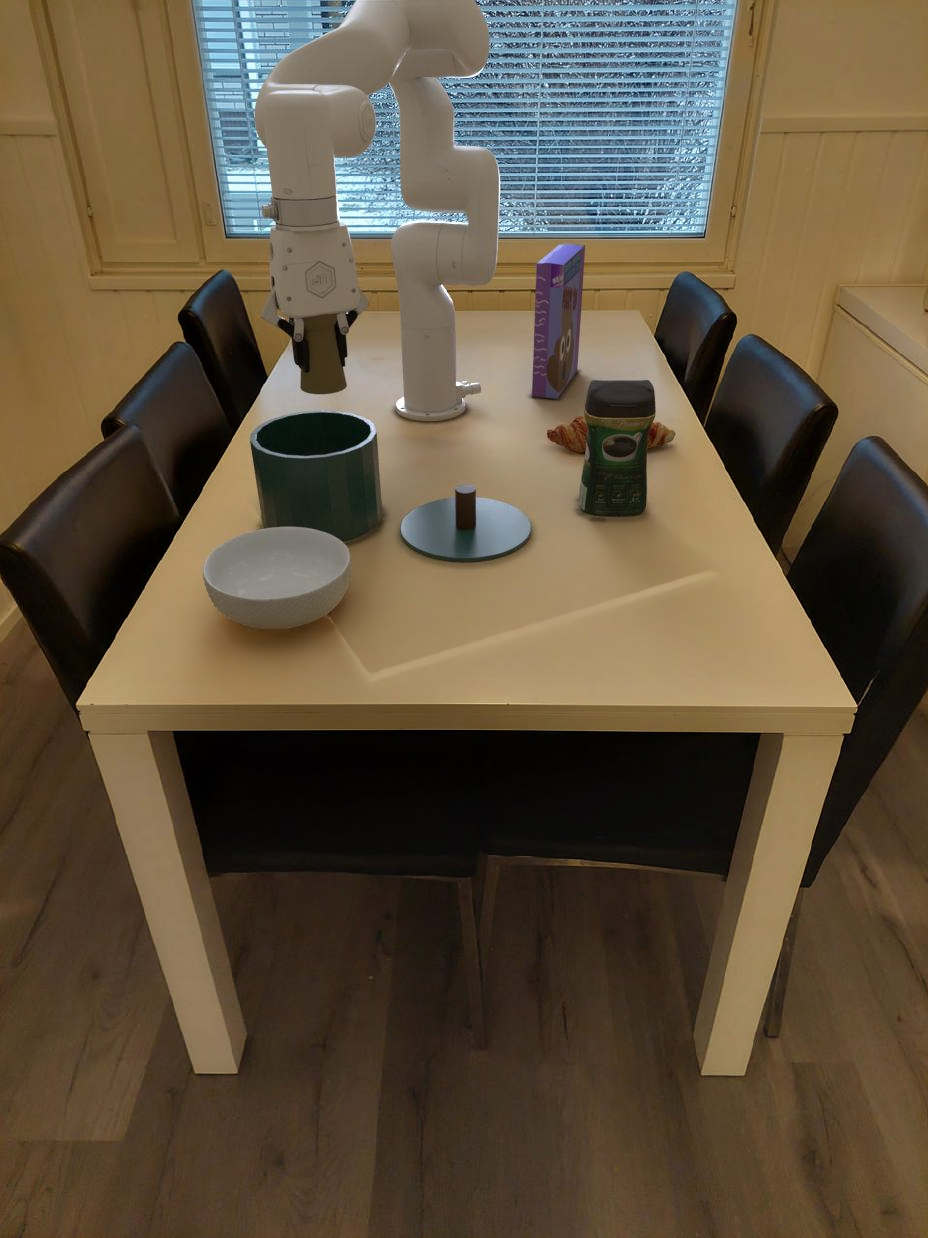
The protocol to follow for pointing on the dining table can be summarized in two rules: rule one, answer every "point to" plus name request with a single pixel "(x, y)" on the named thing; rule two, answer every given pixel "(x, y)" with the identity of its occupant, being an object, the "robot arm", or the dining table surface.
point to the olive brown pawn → (322, 356)
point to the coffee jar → (616, 447)
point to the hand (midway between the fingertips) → (321, 365)
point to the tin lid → (465, 528)
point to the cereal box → (557, 319)
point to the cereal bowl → (278, 576)
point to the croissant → (577, 435)
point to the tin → (318, 472)
